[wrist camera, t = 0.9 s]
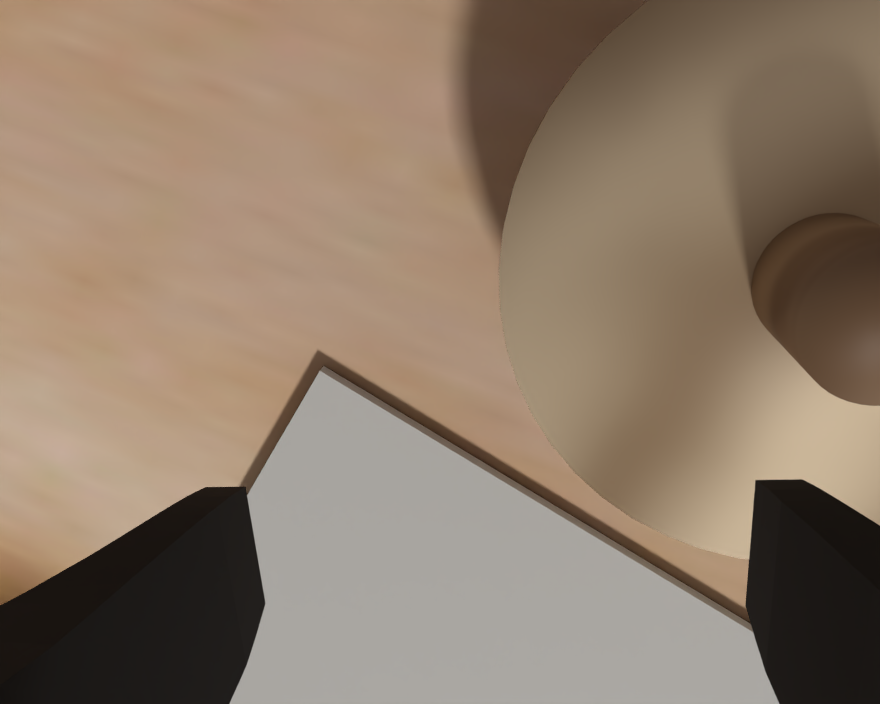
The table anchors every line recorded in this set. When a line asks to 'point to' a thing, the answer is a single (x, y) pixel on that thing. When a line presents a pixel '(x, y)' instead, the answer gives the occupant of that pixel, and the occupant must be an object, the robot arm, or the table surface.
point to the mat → (459, 583)
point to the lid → (706, 263)
